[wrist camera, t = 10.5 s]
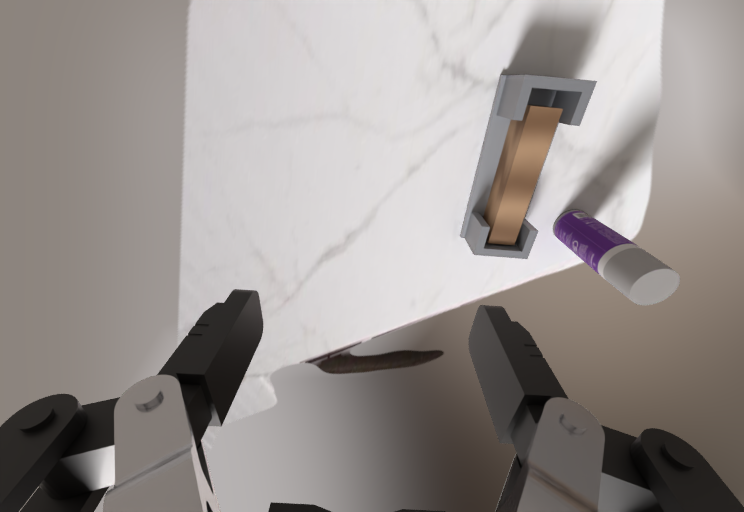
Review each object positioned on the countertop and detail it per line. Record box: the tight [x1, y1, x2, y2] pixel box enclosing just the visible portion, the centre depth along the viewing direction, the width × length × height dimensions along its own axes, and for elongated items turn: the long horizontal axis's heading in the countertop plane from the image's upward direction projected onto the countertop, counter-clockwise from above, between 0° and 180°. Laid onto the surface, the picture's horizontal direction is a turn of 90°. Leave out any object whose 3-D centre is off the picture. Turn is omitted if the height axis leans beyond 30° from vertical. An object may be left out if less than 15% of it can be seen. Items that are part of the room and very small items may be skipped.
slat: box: [483, 105, 563, 245], centre depth 37 cm, size 16×3×4 cm, turn 175°
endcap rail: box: [460, 74, 597, 259], centre depth 36 cm, size 20×8×6 cm, turn 175°
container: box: [553, 210, 680, 305], centre depth 36 cm, size 5×5×15 cm
